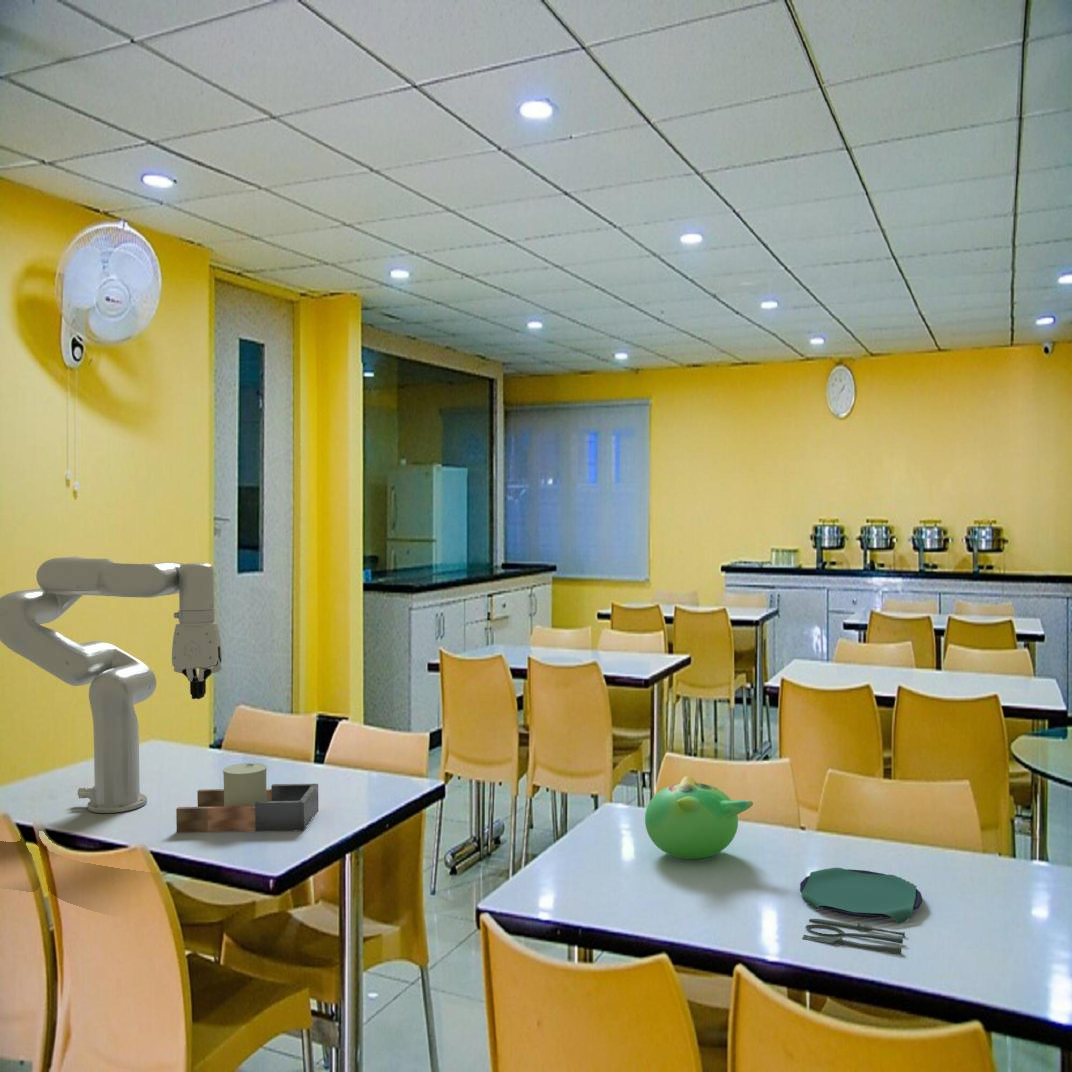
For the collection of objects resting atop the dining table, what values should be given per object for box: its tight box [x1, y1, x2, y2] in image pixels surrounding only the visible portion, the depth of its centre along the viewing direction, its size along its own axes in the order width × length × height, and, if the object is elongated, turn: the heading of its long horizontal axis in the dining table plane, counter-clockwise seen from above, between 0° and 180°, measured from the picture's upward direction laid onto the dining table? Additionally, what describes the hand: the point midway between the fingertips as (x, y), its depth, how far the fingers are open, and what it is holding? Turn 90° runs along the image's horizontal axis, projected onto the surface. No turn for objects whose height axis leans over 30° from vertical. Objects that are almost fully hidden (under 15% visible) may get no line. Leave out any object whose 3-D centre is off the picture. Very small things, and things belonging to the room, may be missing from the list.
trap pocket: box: [255, 783, 320, 832], centre depth 210 cm, size 10×14×6 cm
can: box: [222, 762, 268, 806], centre depth 210 cm, size 9×9×12 cm
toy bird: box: [644, 775, 754, 860], centre depth 185 cm, size 18×17×15 cm
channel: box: [175, 788, 272, 833], centre depth 209 cm, size 16×14×5 cm
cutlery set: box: [799, 867, 923, 955], centre depth 159 cm, size 20×30×2 cm, turn 155°
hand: (198, 697), depth 219 cm, fingers closed
